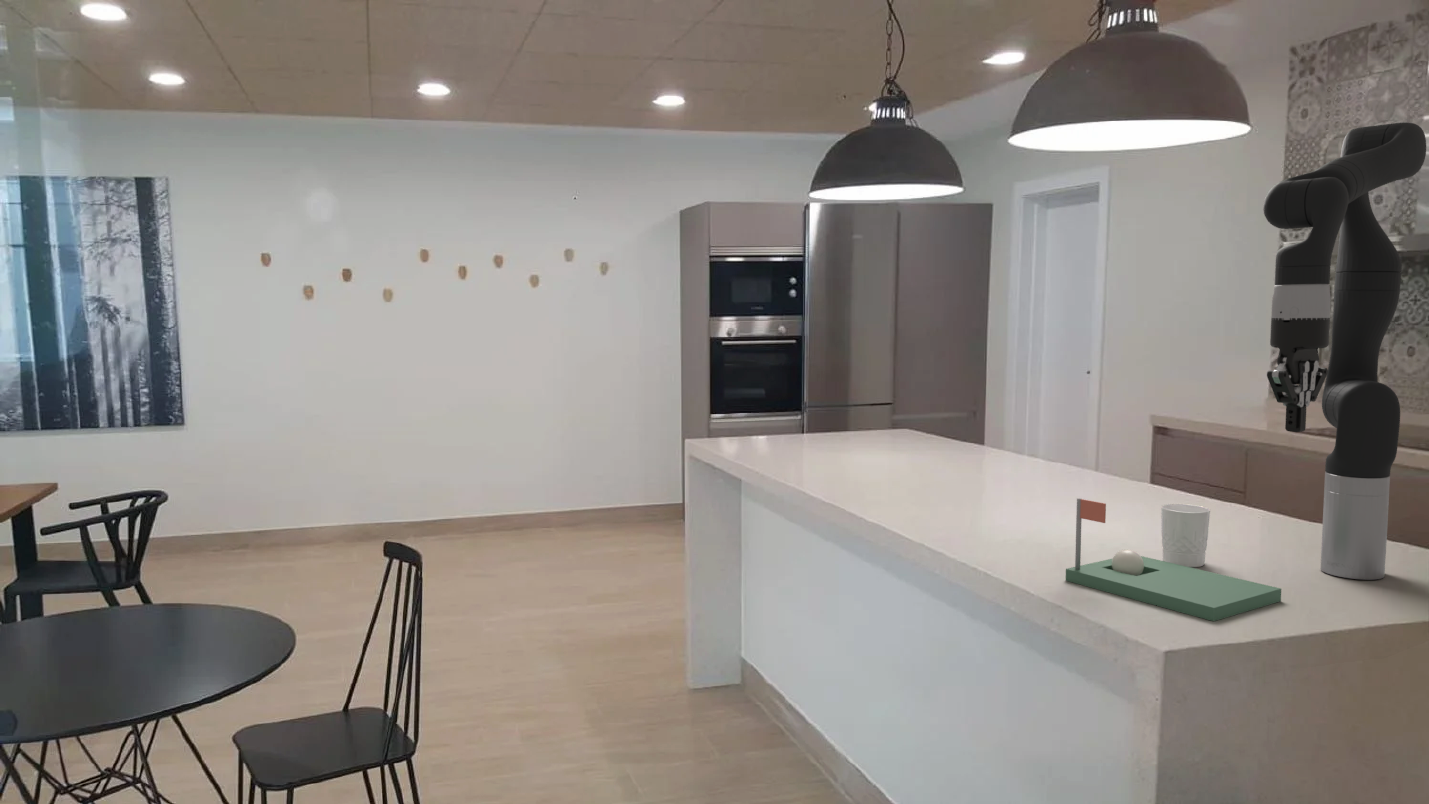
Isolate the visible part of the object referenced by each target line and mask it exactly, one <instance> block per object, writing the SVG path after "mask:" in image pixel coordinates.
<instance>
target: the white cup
mask: <svg viewBox="0 0 1429 804" xmlns="http://www.w3.org/2000/svg"><path fill="white" fill-rule="evenodd" d="M1160 508H1161V509H1160V510H1161V512H1160V514H1161V515H1160V517H1161V545H1162V561H1165V562H1169V563H1173V564H1178V565H1182V566H1186V567H1191V568H1199V567H1203V566H1204V565H1205V563H1206V554H1207V553H1206V551H1207V546H1208V538H1209V527H1210V518H1211V517H1210V516H1211V509H1210V508H1209V507H1206V506H1201V505H1196V504H1189V503H1188V504H1186V503H1168V504H1163V505H1161V507H1160Z"/></svg>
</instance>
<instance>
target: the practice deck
mask: <svg viewBox="0 0 1429 804" xmlns="http://www.w3.org/2000/svg"><path fill="white" fill-rule="evenodd" d="M1106 511H1107V503H1105V502H1099V501H1094V500H1089V499H1085V498H1076V521H1075V522H1076V524H1075V555H1074V556H1075V559H1074V560H1075V561H1074V562H1075V564H1074V566H1071V567H1068V568H1066V569H1065V581H1067V582H1069V583H1073V584H1077V585H1081V586H1084V587H1088V588H1092V589H1096V590H1098V591H1102V592H1107V593H1110V594H1113V595H1117V596H1121V597H1124V598H1128V599H1131V600H1135V601H1138V602H1142V603H1146V604H1149V605H1153V606H1156V605H1157V607H1161V608H1163V609H1166V610H1167V609H1168V610H1170V611H1175V612H1178V613H1183V614H1185V615H1189V616H1193V617H1198V618H1200V619H1203V620H1208V621H1210V622H1216V621H1219V620H1223V619H1225V618H1229V617H1233V616H1235V615H1239V614H1243V613H1246V612H1249V611H1253V610H1256V609H1260V608H1263V607H1266V606H1269V605H1273V604H1275V603H1278V602H1282V588H1281V587H1277V586H1272V585H1268V584H1263V583H1258V582H1254V581H1250V580H1247V579H1242V578H1238V577H1233V576H1229V575H1224V574H1220V573H1216V572H1211V571H1207V570H1204V569H1199V568H1196V567H1186V566H1182V565H1178V564H1173V563H1169V562H1165V561H1163V560H1161V559H1160V560H1159V559H1156V558H1151V557H1148V556H1143V555H1140V556H1141V557H1142V559H1143V562H1144V569H1143V572H1142V573H1141V575H1139V576H1134V575H1130V574H1126V573H1122V572H1118V571H1114V570H1113V568H1112V559H1113V558H1109V559H1105V560H1099V561H1095V562H1091V563H1086V564H1081V559H1082V558H1081V556H1082V555H1081V553H1082V552H1081V551H1082V549H1081V548H1082V547H1081V546H1082V519H1083V520H1088V521H1091V522H1092V521H1093V522H1096V523H1102V524H1106V516H1107V515H1106Z"/></svg>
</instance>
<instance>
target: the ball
mask: <svg viewBox="0 0 1429 804" xmlns="http://www.w3.org/2000/svg"><path fill="white" fill-rule="evenodd" d="M1141 556H1142V555H1140V553H1138V552H1137V551H1135V550H1133V549H1121V550H1119V551H1117V552H1116V553H1115V554H1114V555H1113V556H1112V558H1111V559H1112V568H1113V570H1114V571H1118V572H1122V573H1126V574H1130V575H1134V576H1139V575H1141V573H1142V572H1143V569H1144V562H1143V559H1142V557H1141Z"/></svg>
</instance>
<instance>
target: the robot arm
mask: <svg viewBox="0 0 1429 804" xmlns="http://www.w3.org/2000/svg"><path fill="white" fill-rule="evenodd" d="M1341 144H1342V145H1341V149H1340V151H1341V152H1340V157H1338V158H1335V159H1333V160H1330V161H1329V162H1326V163H1325V164H1323V165H1321V166H1319V167H1318V168H1316V169H1315V170H1313V171H1311V172H1310V171H1309V172H1307V173H1302V174H1299V175H1295V176H1291V177H1289V178H1286V179H1283V180H1281V181H1279V182H1277V183H1276V184H1274V185H1273V186H1272V187H1271V188H1270V190H1268V192H1267V194H1266V196H1265V197H1264V201H1263V204H1262V205H1263V209H1262V210H1263V214H1264V217H1265V219H1266V220H1267V222H1268V223H1269V224H1270V225H1272V226H1273V227H1275V228H1278V229H1280V230H1281V229H1283V230H1289V229H1290V230H1291V229H1293V230H1294V229H1304V228H1305V229H1306V228H1311V230H1310V233H1309V234H1308V236H1307V237H1306V238H1305V239H1304V240H1303V241H1300V242H1297V243H1293V244H1292V243H1291V244H1288V245H1285V246H1283V247H1280V249H1278V251H1277V252H1276V256H1275V265H1274V266H1275V270H1274V271H1275V272H1274V287H1273V295H1272V299H1271V316H1270V318H1271V319H1270V336H1269V337H1270V338H1269V339H1270V341H1269V345H1270V346H1271V347H1272V348H1275V349H1276V348H1277V349H1279V351H1278V356H1277V357H1276V358H1277V359H1276V363H1277V366H1276V367H1275V369H1274V370H1270V369H1269V370H1268V371H1267V372H1266V377H1267V380H1268V382H1269V385H1270V387H1271V390H1272V392H1273V395H1274V398H1275V400H1276V403H1280V404H1281V403H1282V405H1283V406H1284V407H1285V425H1284V426H1285V427H1284V429H1285V430H1286V431H1287V432H1291V433H1293V432H1294V433H1302V432H1305V431H1306V429H1307V428H1306V427H1307V426H1306V425H1307V423H1306V421H1307V407H1309V406H1310V404H1311V402H1315V401H1316V400H1317V398H1318V396H1319V394H1320V391H1321V390H1322V387H1323V390H1322V398H1321V411H1322V413H1323V416H1324V418H1325V419H1326V421H1327V422H1328V423H1329V424H1330V425H1331V426H1332V427H1334V428H1336V431H1335V432H1336V433H1335V443H1334V448H1333V451H1331V453H1329V454H1328V455H1327V456H1326V458H1325V467H1324V468H1325V469H1324V471H1325V472H1324V486H1323V487H1324V490H1323V510H1322V511H1323V512H1322V513H1323V514H1322V530H1321V548H1320V549H1321V550H1320V571H1322V572H1324V573H1326V574H1328V575H1331V576H1335V577H1338V578H1339V577H1340V578H1345V579H1355V580H1364V581H1366V580H1367V581H1369V580H1381V579H1383V578H1385V573H1386V557H1387V556H1386V555H1387V542H1388V541H1387V539H1388V538H1387V537H1388V522H1389V521H1388V520H1389V502H1390V500H1389V499H1390V485H1391V484H1390V483H1391V469H1392V465H1393V464H1394V462H1395V460H1396V457H1397V453H1398V443H1399V435H1400V434H1399V433H1400V427H1401V426H1400V425H1401V404H1400V401H1399V398H1398V396H1397V394H1396V392H1395V391H1394V390H1393V389H1392V388H1391V387H1390V386H1388V385H1386V384H1384V383H1381V382H1379V381H1378V373H1379V372H1378V370H1379V369H1378V367H1379V355H1380V349H1381V346H1382V342H1383V340H1384V339H1385V336H1386V333H1387V331H1388V329H1389V327H1390V324H1391V322H1392V321H1393V318H1394V315H1395V312H1396V310H1397V308H1398V304H1399V301H1400V293H1401V282H1402V271H1403V270H1402V268H1403V265H1402V264H1403V263H1402V259H1401V256H1400V254H1399V252H1398V250H1397V249H1396V247H1395V246H1394V245H1395V244H1393V242H1392V241H1391V239H1390V237H1389V236H1388V235H1387V233H1386V232H1385V230H1384V229H1383V228H1382V226H1381V225H1380V223H1379V222H1378V220H1377V218H1376V217H1375V216H1376V215H1375V214H1374V212H1373V210H1372V205H1371V202H1370V196H1369V192H1371V191H1374V190H1375V189H1378V188H1380V187H1382V186H1385V185H1387V184H1388V185H1389V184H1390V183H1393V182H1396V181H1399V180H1400V181H1401V180H1405V179H1408V178H1411V177H1413V176H1416V174H1418V172H1419V171H1420V170H1421V168H1422V166H1423V165H1424V162H1425V160H1426V157H1427V139H1426V135H1425V132H1424V130H1423V129H1422V127H1421V126H1420V125H1418V124H1416V123H1414V122H1403V121H1402V122H1394V123H1387V124H1378V125H1369V126H1368V125H1367V126H1362V127H1361V126H1359V127H1355V128H1352V129H1351V130H1349V131H1348V132H1347V133H1346V135H1345V136H1344V138H1343V141H1342V143H1341ZM1338 234H1339V237H1338ZM1337 237H1338V247H1337V257H1336V265H1335V276H1334V287H1333V308H1332V307H1331V305H1332V297H1331V289H1330V287H1331V285H1330V284H1331V283H1330V282H1331V264H1332V263H1331V262H1332V256H1333V250H1334V249H1335V245H1336V242H1337ZM1331 308H1332V310H1333V312H1332V325H1331ZM1330 326H1331V327H1332V328H1331V327H1330ZM1330 328H1331V348H1330V356H1329V361H1328V367H1321V366H1320V365H1319V363H1320V355H1319V349H1325V348H1327V347H1329V344H1330ZM1323 385H1324V386H1323Z"/></svg>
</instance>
